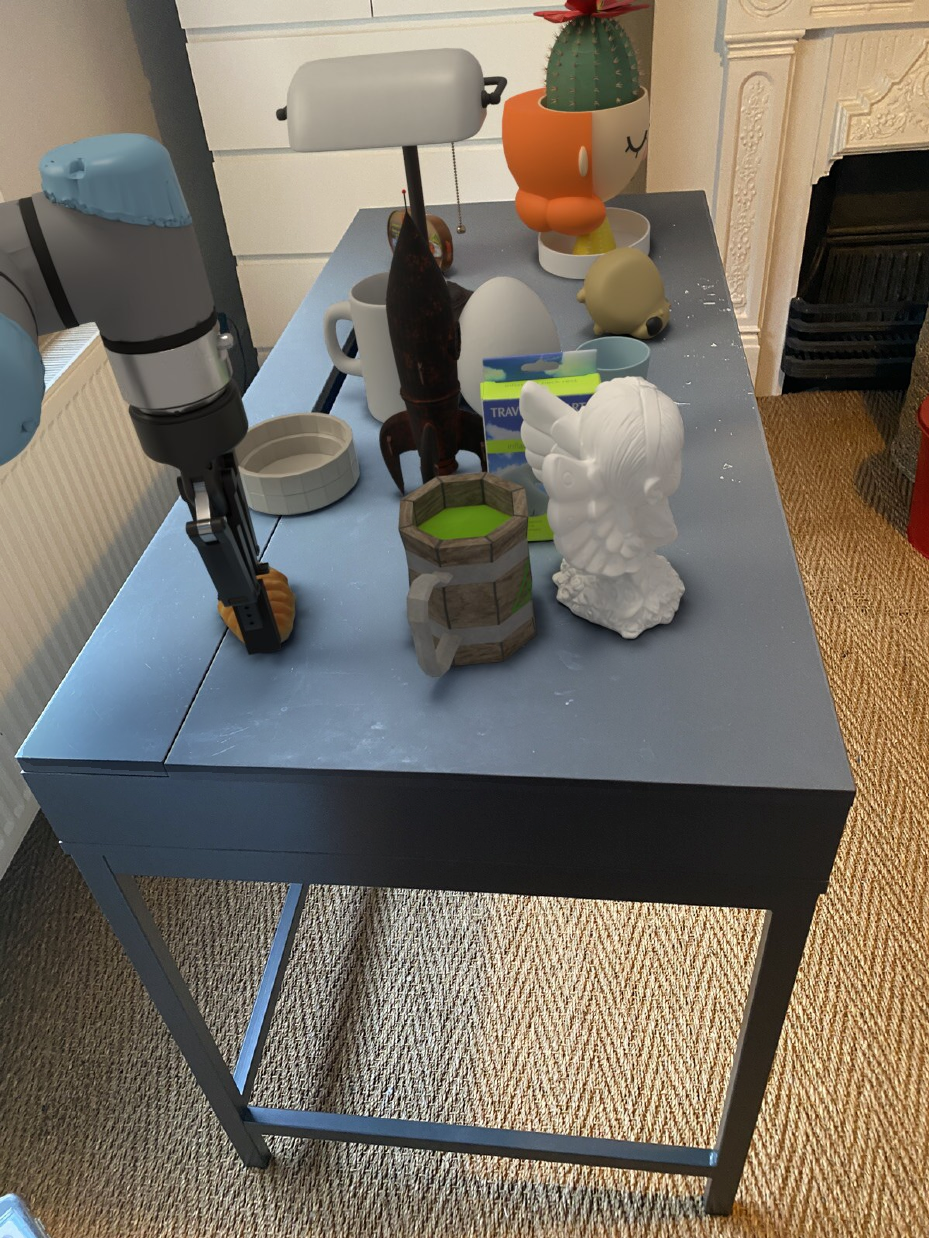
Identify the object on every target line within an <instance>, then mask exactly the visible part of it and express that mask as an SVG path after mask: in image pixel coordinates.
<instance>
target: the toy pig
mask: <svg viewBox="0 0 929 1238" xmlns="http://www.w3.org/2000/svg"><path fill="white" fill-rule="evenodd" d="M583 280H584V281H583V284H582V285H583V286H582V288H581V289H580V290H579V291H578V292H577V294H576V297H575V298H576V301H577V302H578V303H580V304H584V306H585V308H586V311H587V313H588V315H589V316H590V318H591V319H592V322H593V323H594V325H593V329H592V330H593V333H594V334H595V335H597V336H601V335H604V334H605V333H608V334H613V335H625V334H628V335H629V336H632V337H634V338H635V339H641V340H648V339H651V338H654V337H655V336H657V335H659V334H660V332H662V330H664V329H665V327H666V326H667V324H668V322H669V320H670V316H671V309H670V308H671V307H672V303H671V302H669V300H668V299H667V297H666V294H665V286H664V281H663V278H662V276H661V274H660V271H659V270H658V268H657V266H656V265H655V263H654V261H653V260H652V259H651V258H650V257H649V255H648V256H647V255H646V254H645V253H644V252H642V251H641V250H639V249H636V248H632V247H621V248H617V249H614V250H611V251H609V252H607V253H605V254H604V255H602V256H601V257H599V258H598V259H597V260H596V261H595V262H594V263H593V264H592V266H591V267H590V268H589V270H588V272H587V274H586V277H585V279H583Z"/></svg>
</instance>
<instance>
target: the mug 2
mask: <svg viewBox="0 0 929 1238" xmlns="http://www.w3.org/2000/svg"><path fill="white" fill-rule="evenodd" d="M398 509H399V510H398V511H399V512H398V525H397V527H398V533H399V537H400V539H401V542H402V545H403V548H404V553H405V558H406V564H407V572H408V574H407V575H408V593H407V595H406V618H407V622H408V625H409V628H410V632H411V635H412V639H413V640H412V641H413V646H414V651H415V656H416V659H417V663H418V666H419V668H420V670H421V671H422V673H424V674H425V675H426V676H428V677H430V678H441V677H442V676H443V675H445V674H446V673H447V672H448V671H449V670H450V668H451V666H464V665H476V664H478V665H479V664H488V663H500V662H505V661H506V660H508V659H509V658H510V657H511V656H512V655H513V654H515V653H516V652H517V651H518V650H519V649H521V648H522V647H523V646H524V645H526V644H527V643H528V642H529V641H531V640H532V639H533V638H534V637H536V636H537V627H536V616H535V609H534V601H533V597H532V595H533V573H532V565H531V555H530V549H529V543H528V542H529V541H527V530H528V510H527V502H526V494H525V488H524V487H522V486H520V485H517V484H515V483H512V482H510V481H508V480H505V479H503V478H501V477H498V476H496V475H493V474H491V473H489V472H482V471H479V472H468V473H458V474H451V475H448V476H438V477H435V478H434V479H432V480H430V481H429V482H427V483H426V484H424V485H423V484H422V485H421V486H420V487H418V488H416V489H414V490H413V491H412V492H409V493H408V494H407V495H404V496H403V497H402V498H400V499H399V508H398Z"/></svg>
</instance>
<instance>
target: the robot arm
mask: <svg viewBox="0 0 929 1238" xmlns="http://www.w3.org/2000/svg"><path fill="white" fill-rule="evenodd" d="M38 171H39V175H40V179H41V183H40V187H41V190H42V191H38V192H35V193H32V194H31V196H26V197H22V198H19V199H13V200H9V201H8V200H7V201H4V202H0V467H1V466H4V465H5V464H8V463H10V462H11V461H12V460H13V459H15V458H16V457H18V456H19V455H20V454H21V453H22V452H23V451H24V450H25V449H26V448H27V447H28V445H29V444H30V442H31V441H32V440H33V438H34V436H35V435H36V433H37V430H38V428H39V427H40V425H41V418H42V417H41V416H42V403H43V401H44V397H45V393H46V390H47V389H46V388H47V385H46V381H45V376H46V365H45V363H44V361H43V355H42V354H41V352H40V345H39V337H42V336H46V335H50V334H54V333H59V332H62V331H65V330H66V331H67V330H70V329H74V328H78V327H80V326H82V325H86V324H89V323H95V325H96V327H97V329H98V331H99V336H100V338H101V341H102V344H103V348H104V351H105V353H106V356H107V359H108V362H109V365H110V367H111V370H112V373H113V376H114V378H115V381H116V384H117V386H118V389H119V392H120V395H121V397H122V400H123V401H124V402H125V403H127V405H129V406H128V415H129V418H130V420H131V422H132V425H133V428H134V430H135V433H136V436H137V438H138V441H139V445H140V446H141V447H140V448H141V449H142V451H143V453H144V454H145V456H147V458H149V459H150V460H151V461H153V462H156V463H159V464H162V465H168V466H171V467H173V468H176V469H177V470H179V472H180V475H178V476H176V486H177V489H178V492H179V495H180V498H181V500H182V501H183V502H185V503H186V504H187V508H188V510H189V512H190V516H191V518H192V520H190V521H186V522H185V533H186V535H187V537H188V538H189V540H190V542H192V543H193V545H194V546H195V547H196V549H197V552H198V554H199V556H200V558H201V560H202V562H203V565H204V567H205V569H206V571H207V572H208V575H209V577H210V579H211V581H212V583H213V586H214V588H215V590H216V593H217V598H216V599H217V602H218V601H221V602H222V603H223V605H224V607H231V606H232V608H233V611H234V613H235V616H236V619H237V622H238V625H239V628H240V631H241V634H242V637H243V640H244V642H245V644H244V645H245V648H246V651H247V655H249V656H252V655H257V654H262V653H263V654H264V653H269V652H275V651H280V650H282V643H281V637H280V633H279V630H278V627H277V624H276V620H275V617H274V614H273V611H272V607H271V604H270V601H269V598H268V595H267V591H266V588H265V585H264V582H263V578H262V579H257V577H256V576H258V575H265V574H270V568H269V566H270V564H269V561H267V562H262V563H260V564H259V562H260V561H259V559H258V557H259V556H260V553H261V548H260V545H259V544H258V539H257V536H256V533H255V529H254V528H255V527H254V525H253V520H252V515H251V512H250V507H248V504H247V500H246V496H245V492H244V488H243V484H242V480H241V476H240V472H239V468H238V466H239V464H238V460H237V456H236V452H235V447H236V446H237V445H239V444H240V443H241V442H242V440H243V439H244V438H245V436H246V434H247V431H248V428H249V419H248V416H247V412H246V409H245V405H244V402H243V398H242V395H241V391H240V388H239V385H238V382H237V381H236V380H235V379H233V378H232V377H233V373H234V371H233V366H232V362H231V359H230V356H229V351H228V350H229V349H231V348H233V347H234V346H235V339H234V336H233V335H232V333H228V332H224V333H222V334H221V331H220V330H221V324H220V321H219V320H218V319H219V317H218V312H217V309H216V305H215V302H214V296H213V294H212V290H211V286H210V283H209V279H208V274H207V272H206V271H207V270H206V268H205V264H204V260H203V256H202V253H201V249H200V245H199V242H198V237H197V235H196V230H195V226H194V223H193V217H192V215H191V212H190V211H189V207H188V205H187V201H186V199H185V195H184V193H183V190H182V187H181V183H180V181H179V178H178V174H177V172H176V169H175V165H174V162H173V161H172V157H171V153H170V152H169V151H168V149H167V148H166V147H165V146H164V145H163V144H162V143H160V142H159V141H158V140H157V139H156V138H154V137H152V136H149V135H147V134H143V133H135V132H125V133H123V132H122V133H120V132H119V133H109V134H103V135H102V134H101V135H96V136H90V137H85V138H82V139H79V140H77V141H74V142H71V143H65V144H62V145H61V144H60V145H59V146H57V147H54V148H52V149H50V150H48V151H47V152H46V153H45V154H44V155H43V156H42V157H41V158H40V160H39V163H38Z"/></svg>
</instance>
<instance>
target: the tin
mask: <svg viewBox="0 0 929 1238" xmlns="http://www.w3.org/2000/svg"><path fill="white" fill-rule="evenodd" d="M407 211H408V213H409V215H410V216H411V211H410V207H407ZM405 212H406V210H405V208H402V209H395V210H393V211H391V213H390V214H389V216H388V218H387V222H386V223H387V224H386V234H387V240H388V245H389V247H390V251H391V253H392V255H393V254H394V250H395V246H396V243H397V239H398V236H399V233H400V229H401V226H402V222H403V219H404V215H405ZM425 213H426V221H427V230H428V238H429V246H430V250H431V251H432V253H433V255H434V257H435V259H436V261H437V263H438V265H439V267H440V269H441V271H442V273H444V272H447V271H448V270H449V269H450V268H451V267H452V266H453V262H454V244H453V236H452V233H451V231H450V229H449V226H448V224H446V222H445V221H444V220H443V219H442V218H441V217H439V216H437V215H433V214H430V213H427V212H425Z"/></svg>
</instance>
